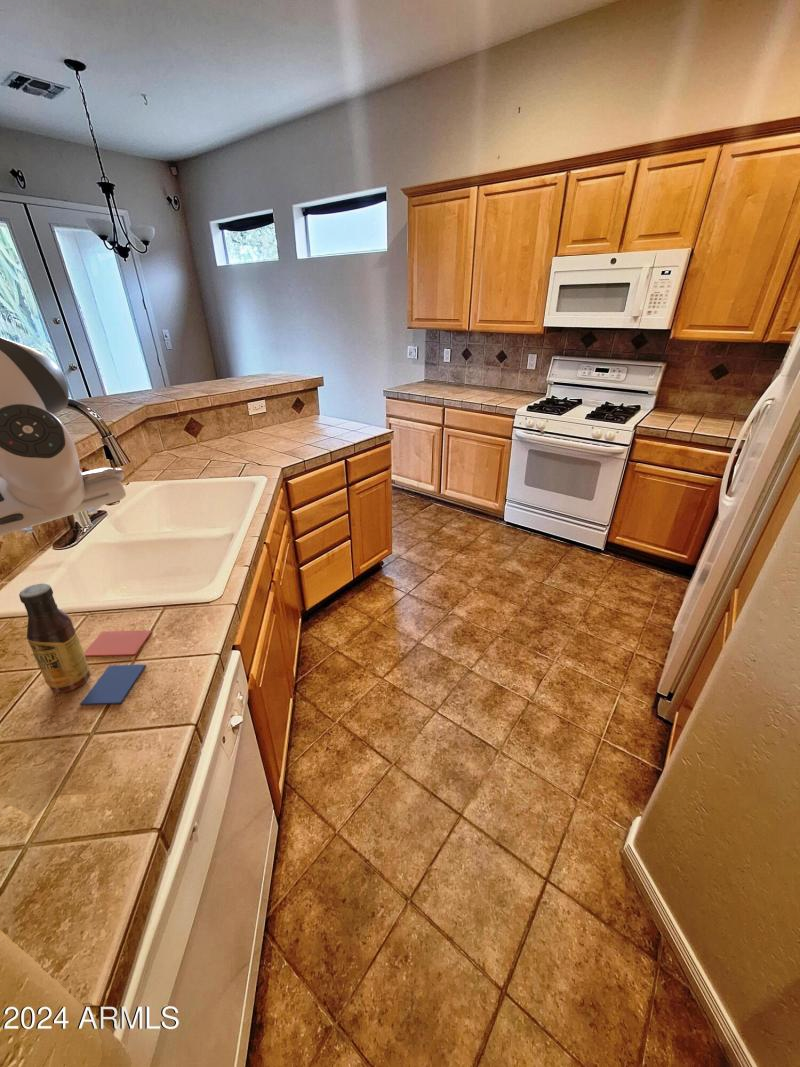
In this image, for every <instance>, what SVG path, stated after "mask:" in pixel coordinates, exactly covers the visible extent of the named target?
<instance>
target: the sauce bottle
mask: <svg viewBox="0 0 800 1067" xmlns="http://www.w3.org/2000/svg"><path fill="white" fill-rule="evenodd" d="M18 596H19V601H20V602H21V603H22V604H23V605H24V608H25V610H26V613H27V627H26V628H27V629H26V639H27V642H28V645H29V647H30V649H31V652H32V654H33V656H34V658H35V661H36V664H37V665H38V667H39V670H40V672H41V675H42V677H43V679H44V682H45V684H46V685H47V686H48V687H49V689H50V690H51V691H52V692H54V693H69V692H72V691H73V690H75V689H77V688H80V687H81V686H82V685H84V684H85V683H86V682H87V680H88V679H89V678H90V676H91V670H90V666H89V663H88V661H87V657H85V655H84V652H85V651H84V649H83V647H82V644H81V641H80V638H79V635H78V632H77V630H76V628H75V627H74V624H73V621H72V619H71V617H70V615H69V614H68V613H66V611H63V610H62V609H60V608H58V604H57V603H56V601H55V598H54V591H53V588H52V586H51V585H50V584H48V583H43V582H42V583H41V582H40V583H36V584H32V585H29V586H26V587H25V588H23V589H21V591H19V594H18Z"/></svg>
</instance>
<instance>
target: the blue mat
mask: <svg viewBox="0 0 800 1067" xmlns="http://www.w3.org/2000/svg"><path fill="white" fill-rule="evenodd" d="M146 667H147V664H116V665H115V664H114V665H108V667H107V668H106V669H105V671H104V672H103V673H102V675H100V677H98V679H97V681H96V682H95V684H94V685H93V686H92V687H91V689H90V690H89V692H87V694H86V696H85V697H83V699H82V701H81V702H80V706H104V705H122V704H123V702H124V701H125V699H126V697H127V696H128V695H129V693H130V692H131V690H132V688H133V687H134V685H135V684H136V682H137V681H138V680H139V678H140V676H141V675H142V673H143V672H144V670H145V668H146Z"/></svg>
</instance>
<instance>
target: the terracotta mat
mask: <svg viewBox="0 0 800 1067" xmlns="http://www.w3.org/2000/svg"><path fill="white" fill-rule="evenodd" d="M152 633H153V630H152V629H149V630H148V629H147V630H110V631H109V630H108V631H107V630H106V631H104V630H103V631H101V632H100V633H99V634H98V636H97V637H96V638H95V639H94V640H93V642H91V644H90V645H89V646H88V647H87V649H86V650H85V651H83V652H84V655H85V658H98V657H99V658H100V657H103V658H104V657H105V658H106V657H136V656H137V654H138V653H139V652H140V650H141V649H142V647H143V646H144V644H145V643H146V641H147V640H148V639H149V638H150V635H151V634H152Z"/></svg>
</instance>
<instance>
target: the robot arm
mask: <svg viewBox="0 0 800 1067" xmlns="http://www.w3.org/2000/svg"><path fill="white" fill-rule="evenodd" d="M69 392H70V391H69V385H68V381H67V377H66V375H65V373H64V372H63V371H62V369H61V368H60V367H59V366H58V365H57V364H56V363H55V362H54V361H53V360H51V359H50V358H49V357H47V356H46V355H44V354H43V353H41V352H40V351H38V350H36V349H34V348H32V347H29V346H26V345H24V344H21V343H18V342H15V341H13V340H10V339H7V338H3V337H2V336H0V537H1V536H5V535H8V534H12V533H23V535H24V536H25V535H30V534H32V533H35V532H36V531H35V529H34V527H35V526H39V525H42V524H45V523H48V522H53V521H55V520H59V519H61V518H65V517H69V516H72V515H76V514H79V513H82V512H86V514H87V515H88V516H91V515H95V514H98V510H100V508H101V507H103V506H106V505H109V504H112V503H115V502H119V501H122V500H123V499H124V498H126V496H127V493H126V490H125V488H124V485H123V483H122V481H123V480H124V479H125V471H124V470H123V469H122V468H114V469H113V467H100V468H96V469H91V470H88V471H84V472H82V469H81V467H80V457H79V453H78V450H77V447H76V444H75V441H74V440H73V437H72V435H71V434H70V432H69V430H68V428H66V427H65V425H64V424H63V423H62V421H61V420H60V419H59V418H58V417H57V416H55V415H56V414H58V413H60V412H62V410H63V411H64V410H65V409H66V408H67V407H68V405H69V398H70V397H69Z"/></svg>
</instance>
